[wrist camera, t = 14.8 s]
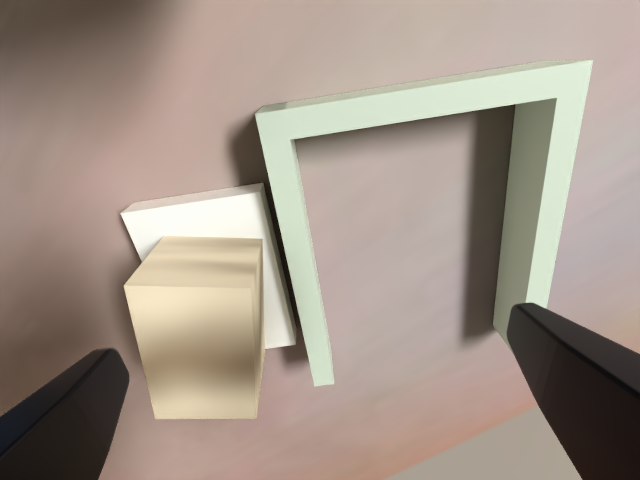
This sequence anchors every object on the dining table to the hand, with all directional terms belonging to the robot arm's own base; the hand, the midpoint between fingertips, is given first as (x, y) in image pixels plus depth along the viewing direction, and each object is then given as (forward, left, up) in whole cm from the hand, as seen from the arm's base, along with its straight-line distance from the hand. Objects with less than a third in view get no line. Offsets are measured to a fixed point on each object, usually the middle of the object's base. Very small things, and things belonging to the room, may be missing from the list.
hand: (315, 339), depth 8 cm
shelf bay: (+4, +5, -12) cm, 14 cm away
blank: (+6, -6, -10) cm, 13 cm away
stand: (+5, -6, -12) cm, 14 cm away
